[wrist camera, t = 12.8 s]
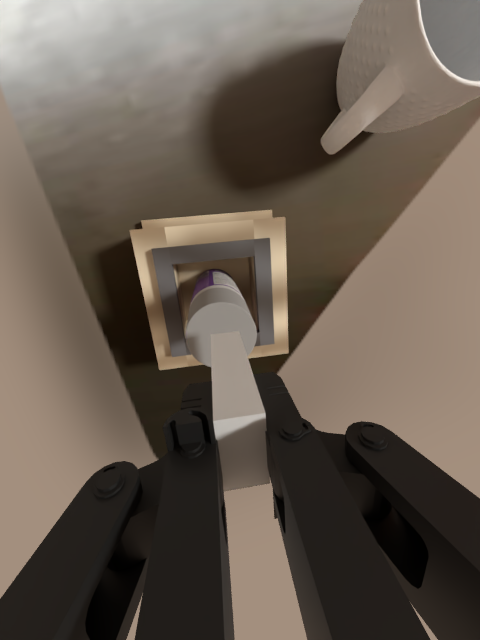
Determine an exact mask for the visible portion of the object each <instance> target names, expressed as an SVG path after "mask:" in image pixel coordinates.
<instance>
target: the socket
mask: <svg viewBox="0 0 480 640" xmlns="http://www.w3.org/2000/svg"><path fill="white" fill-rule="evenodd" d="M141 223H142V228H143V229H137V230H130V235H131V239H132V244H133V249H134V253H135V258H136V263H137V267H138V272H139V277H140V282H141V286H142V291H143V296H144V300H145V305H146V310H147V314H148V319H149V324H150V328H151V333H152V338H153V342H154V347H155V352H156V356H157V361H158V366H159V370H165V369H172V368H180V367H187V366H195V365H202V363H200V362H199V361H198V360H196V359H195V358H194V357H193V355H192V354H191V353H190V351H189V349H188V347H187V344H186V338H185V334H186V327H187V320H188V314H189V307H190V303H191V300H192V296H193V292H194V288H195V284H196V281H197V279H198V277H199V276H200V275H201V274H202V273H203V272H205V271H206V270H209V269H221V270H224V271H226V272H227V273H228V274H229V275H230V276H231V277H232V279H233V280H234V282H235V284H236V286H237V287H238V289H239V291H240V293H241V295H242V296H243V298H244V300H245V302H246V305H247V307H248V309H249V311H250V314H251V316H252V318H253V321H254V323H255V326H256V331H257V338H256V343H255V346H254V348H253V350H252V352H251V353H250V354H249V356H248V358H255V357H263V356H270V355H278V354H285V353H288V312H287V269H286V227H285V217H277V218H272V210H263V211H251V212H239V213H227V214H215V215H203V216H191V217H179V218H167V219H155V220H142V221H141Z"/></svg>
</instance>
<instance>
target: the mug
mask: <svg viewBox="0 0 480 640" xmlns="http://www.w3.org/2000/svg"><path fill="white" fill-rule="evenodd" d="M336 89H337V99H338V104H339V107H340V110H341V112H340V113H339V114H338V116H337V117H336V119H335V120H334V121H333V122H332V123H331V125H330V126H329V128H328V129H327V130H326V132H325V133H324V135H323V136H322V138H321V145H322V147H323V149H324V150H325V151H326V152H327V153H328V154H335V153H336V152H338V151H339V150H340V149H342V148H343V147H344V146H345V145H346V144H348V143H349V142H350V141H351V140H352V139H353V138H354V137H356V136H357V135H358V134H359V133H360V132H361V131H362V130H363V131H365V132H372V133H384V132H387V133H389V132H392V131H400V130H402V129H408V128H411V127H412V126H416V125H420V124H422V123H424V122H426V121H431V120H433V119H434V118H436V117H438V116H441V115H444V114H446V113H448V112H449V111H451V110H453V109H455V108H458V107H461V106H462V105H463V104H465V103H467V102H469V101H471V100H474V99H476V98H478V97H479V96H480V0H364V1H363V2H362V3H361V4H360V7H359V10H358V13H357V15H356V16H355V18H354V20H353V22H352V25H351V29H350V31H349V33H348V35H347V37H346V42H345V44H344V46H343V49H342V54H341V57H340V59H339V67H338V70H337V81H336Z"/></svg>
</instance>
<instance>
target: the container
mask: <svg viewBox="0 0 480 640" xmlns="http://www.w3.org/2000/svg"><path fill="white" fill-rule="evenodd" d="M236 331H239V333H240V336H241V339H242V342H243V345H244V348H245V351H246V354H247V357H248V356H249V354H250V353H251V352H252V350H253V348H254V346H255V343H256V338H257V331H256V326H255V323H254V321H253V318H252V316H251V314H250V311H249V309H248V307H247V305H246V302H245V300H244V298H243V296H242V295H241V293H240V291H239V289H238V287H237V286H236V284H235V282H234V280H233V279H232V277H231V276H230V275H229V274H228V273H227V272H226V271H224V270H221V269H209V270H206V271H205V272H203V273H202V274H201V275H200V276H199V277H198V279H197V281H196V284H195V288H194V292H193V296H192V300H191V303H190V307H189V314H188V320H187V327H186V334H185V338H186V344H187V347H188V349H189V351H190V353H191V354H192V355H193V357H194V358H195V359H196V360H198V361H199V362H200V363H202V364H204V365H206V366H209V367H212V366H211V335H212V334H220V333H228V332H236Z"/></svg>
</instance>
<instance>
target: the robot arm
mask: <svg viewBox="0 0 480 640" xmlns="http://www.w3.org/2000/svg"><path fill="white" fill-rule="evenodd" d="M211 366H212V381H210V382H203V383H196V384H189V386H188V387H187V388H186V390H185V391H184V392H183V398H182V404H181V410H180V411H178V412H176V413H175V414H173V415H172V416H170V417H169V418H168V419H167V420H166V422H165V424H164V426H163V431H164V435H165V439H166V444H167V448H168V453H167V454H166V455H165V456H163V457H162V458H161V459H159V460H157V461H155V462H154V463H151V464H149V465H147V466H144V467H142V468H140V469H137V467H136V466H135V465H134V464H132V463H130V462H126V461H122V462H115V463H112V464H110V465H107V466H105V467H103V468H102V469H100V470H99V471H97V472H96V473H94V474H93V476H91V478H90V479H89V480H88V481H87V482H86V483H85V485H84V486H83V487H82V488H81V490H80V491H79V493H78V494H77V495H76V497H75V498H74V499H73V501H72V502H71V503H70V505H69V506H68V508H67V509H66V510H65V511H64V513H63V514H62V516H61V517H60V519H59V520H58V521H57V522H56V524H55V525H54V526H53V528H52V529H51V531H50V532H49V533H48V535H47V536H46V537H45V539H44V540H43V542H42V543H41V544H40V546H39V547H38V548H37V550H36V551H35V552H34V554H33V555H32V556H31V558H30V559H29V561H28V562H27V563H26V565H25V566H24V567H23V569H22V570H21V571H20V573H19V574H18V575H17V577H16V578H15V580H14V581H13V582H12V584H11V585H10V586H9V588H8V589H7V590H6V592H5V593H4V595H3V596H2V597H1V599H0V640H126V639H127V636H128V633H129V630H130V627H131V624H132V622H133V619H134V616H135V613H136V610H137V608H138V605H139V602H140V599H141V596H142V594H143V596H142V601H141V607H140V613H139V618H138V624H137V630H136V636H135V640H234V625H233V610H232V597H231V581H230V566H229V553H228V552H229V551H228V537H227V523H226V509H225V502H224V491H229V490H234V489H240V488H246V487H252V486H257V485H263V484H268V483H270V479H271V483H272V486H273V499H274V517H275V519H276V518H278V521H279V525H280V528H281V533H282V537H283V541H284V546H285V549H286V554H287V558H288V562H289V566H290V570H291V574H292V578H293V582H294V586H295V591H296V595H297V599H298V603H299V607H300V611H301V615H302V619H303V623H304V628H305V631H306V635H307V640H430V638H429V636H428V634H427V633H426V631H425V629H424V627H423V625H422V624H421V621H420V620H419V618H418V616H417V615H416V612H415V611H414V609H413V607H414V608H415V609H416V611H417V612H418V613H419V615H420V616H421V617H422V619H423V620H424V621H425V623H426V624H427V625H428V626H429V628H430V629H431V631H432V632H433V633H434V635H435V636H436V637H437V639H438V640H480V498H478V497H477V496H476V495H474V494H473V493H472V492H470V491H469V490H468V489H466V488H465V487H464V486H462V485H461V484H460V483H459V482H457V481H456V480H454V479H453V478H452V477H451V476H449V475H448V474H447V473H445V472H444V471H443V470H441V469H440V468H439V467H437V466H436V465H435V464H434V463H432V462H431V461H430V460H428V459H427V458H425V457H424V456H423V455H422V454H420V453H419V452H417V451H416V450H415V449H414V448H412V447H411V446H410V445H408V444H407V443H406V442H405V441H403V440H402V439H401V438H399V437H398V436H397V435H395V434H394V433H393V432H391V431H390V430H388V429H386V428H385V427H383V426H381V425H378V424H375V423H372V422H357V423H353V424H352V425H350V426H349V427H348V428H347V431H346V434H345V435H343V434H333V433H326V432H321V431H318V430H316V429H315V428H314V427H313V426H312V425H311V423H310V422H308V421H307V420H305V419H303V418H301V416H300V414H299V412H298V410H297V408H296V406H295V404H294V402H293V400H292V398H291V396H290V395H289V393H288V390H287V388H286V387H285V384H284V383H283V381H282V379H281V377H279V376H278V375H277V374H275V373H274V372H269V373H262V374H255V375H253V373H252V370H251V367H250V364H249V360H248V357H247V354H246V351H245V348H244V345H243V342H242V339H241V336H240V333H239V331H236V332H228V333H220V334H212V335H211ZM269 475H270V476H269ZM411 604H412V605H413V607H412V605H411Z"/></svg>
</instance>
